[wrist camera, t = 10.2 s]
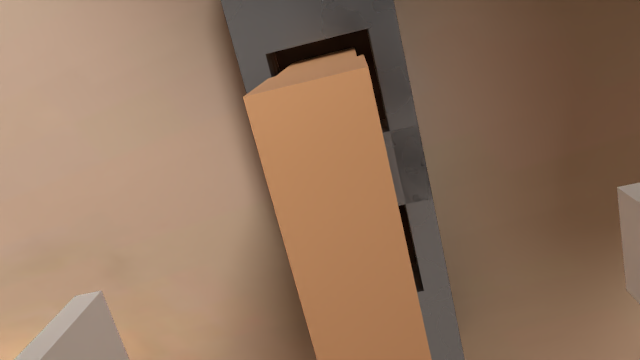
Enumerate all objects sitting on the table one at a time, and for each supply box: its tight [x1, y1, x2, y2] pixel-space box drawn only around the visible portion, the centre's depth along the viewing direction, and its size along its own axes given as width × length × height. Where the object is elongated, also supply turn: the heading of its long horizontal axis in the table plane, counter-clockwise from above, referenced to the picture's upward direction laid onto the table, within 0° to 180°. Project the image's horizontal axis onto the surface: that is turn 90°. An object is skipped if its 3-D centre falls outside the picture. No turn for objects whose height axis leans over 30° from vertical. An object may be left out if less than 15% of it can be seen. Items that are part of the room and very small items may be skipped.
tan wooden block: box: [243, 47, 432, 360], centre depth 22 cm, size 11×4×12 cm, turn 14°
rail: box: [221, 0, 465, 360], centre depth 26 cm, size 22×7×3 cm, turn 14°
